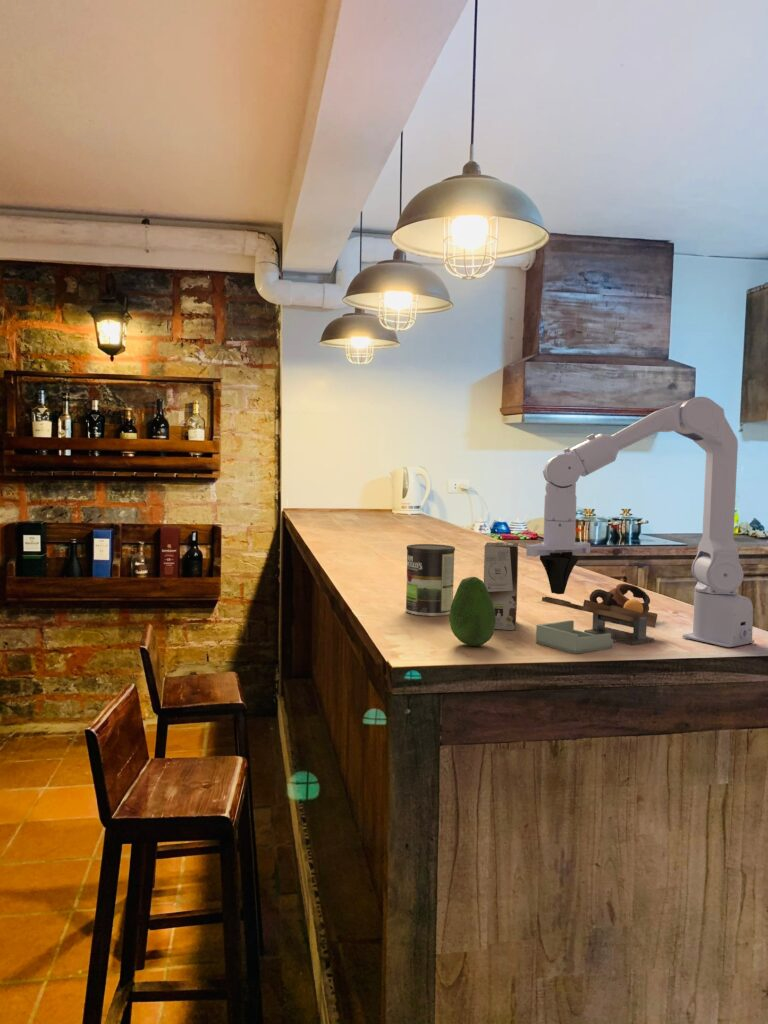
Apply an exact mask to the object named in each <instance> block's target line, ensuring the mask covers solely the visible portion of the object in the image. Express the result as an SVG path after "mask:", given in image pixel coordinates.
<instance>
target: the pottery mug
mask: <svg viewBox="0 0 768 1024" xmlns="http://www.w3.org/2000/svg"><path fill="white" fill-rule="evenodd" d="M629 591H630V593H632V597H633V598H635V599H636V598H637V599H642V601H643V602H641V604H642V605H643V611H646V612H650V604H651V598H650V596H649V595H648V594H647V592H645V590H643V589H642V588H639V587H638V586H636V585H633V584H630V583H619V584H617V585H616V587H614V588H612V589H609V590H608V591H606V590H603V589H599V588H598V589H595V590H592V592H591V593H590V595H589V601H592V602H596V603H600V604H603V605H607V606H611V605H614V606H618V607H621V608H624V604H625V603H626V602H627V601H628V600H631V599H629V598H628V597H627V596H625V595H626V594H627V593H628V592H629ZM598 598H600V599H601V600H602V601H601V602H598V600H597V599H598Z"/></svg>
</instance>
